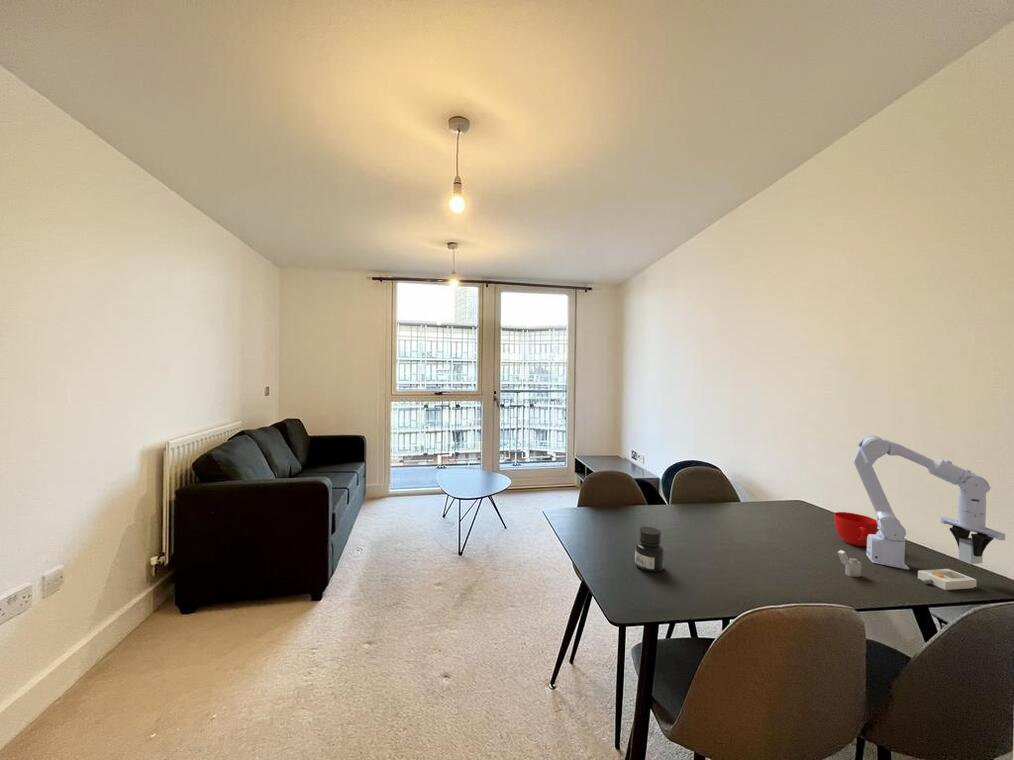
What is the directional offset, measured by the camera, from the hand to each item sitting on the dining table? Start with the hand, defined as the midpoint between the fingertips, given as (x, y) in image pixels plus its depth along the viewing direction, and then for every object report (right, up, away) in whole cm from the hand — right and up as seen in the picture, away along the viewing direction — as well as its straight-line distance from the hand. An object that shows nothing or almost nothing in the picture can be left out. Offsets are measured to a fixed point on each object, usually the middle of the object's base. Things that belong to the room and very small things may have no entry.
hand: (970, 553), depth 126 cm
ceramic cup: (-13, -8, +26) cm, 31 cm away
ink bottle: (-102, -6, +4) cm, 103 cm away
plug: (0, -3, 0) cm, 3 cm away
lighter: (-38, -8, +1) cm, 39 cm away
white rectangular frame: (-11, -8, -2) cm, 14 cm away
